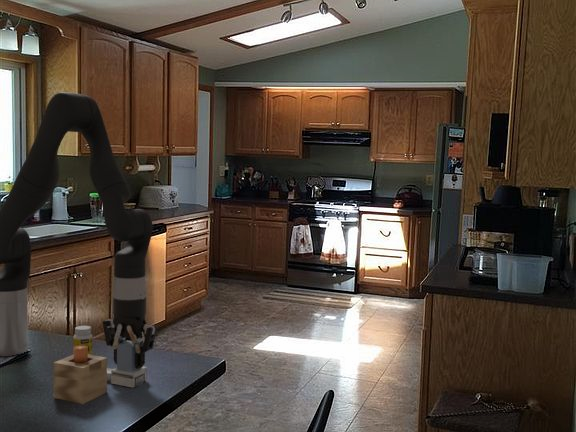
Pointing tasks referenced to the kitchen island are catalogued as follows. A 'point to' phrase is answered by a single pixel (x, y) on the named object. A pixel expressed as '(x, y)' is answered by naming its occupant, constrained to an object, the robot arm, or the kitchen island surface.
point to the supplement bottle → (83, 338)
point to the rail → (138, 380)
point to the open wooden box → (80, 379)
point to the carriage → (126, 366)
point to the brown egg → (80, 354)
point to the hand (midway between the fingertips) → (129, 365)
